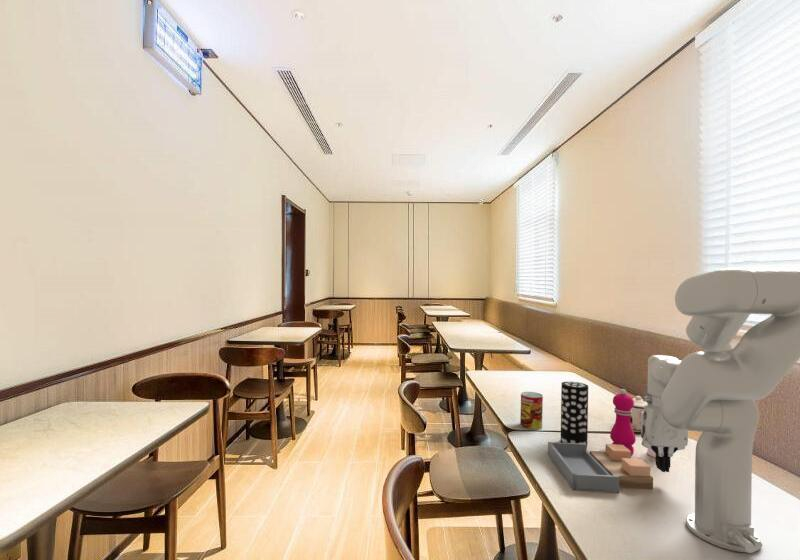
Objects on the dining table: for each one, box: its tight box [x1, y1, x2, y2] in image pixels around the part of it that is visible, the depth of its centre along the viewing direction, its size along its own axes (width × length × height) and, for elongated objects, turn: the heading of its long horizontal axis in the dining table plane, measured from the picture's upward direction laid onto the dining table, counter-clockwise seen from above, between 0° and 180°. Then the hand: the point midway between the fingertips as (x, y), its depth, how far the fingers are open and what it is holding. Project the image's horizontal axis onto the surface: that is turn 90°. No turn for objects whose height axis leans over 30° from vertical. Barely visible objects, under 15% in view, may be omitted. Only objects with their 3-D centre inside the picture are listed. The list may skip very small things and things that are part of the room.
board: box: [589, 450, 654, 490], centre depth 115 cm, size 16×10×3 cm, turn 176°
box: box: [547, 441, 620, 494], centre depth 115 cm, size 22×12×4 cm, turn 176°
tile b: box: [605, 443, 632, 460], centre depth 119 cm, size 5×5×2 cm
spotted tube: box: [560, 381, 589, 445], centre depth 136 cm, size 8×8×20 cm
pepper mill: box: [609, 388, 637, 455], centre depth 131 cm, size 7×7×20 cm
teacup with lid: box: [630, 395, 647, 431], centre depth 153 cm, size 12×9×12 cm
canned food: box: [519, 391, 544, 431], centre depth 152 cm, size 8×8×12 cm
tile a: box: [622, 457, 651, 477], centre depth 109 cm, size 5×5×2 cm
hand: (662, 469), depth 109 cm, fingers closed
